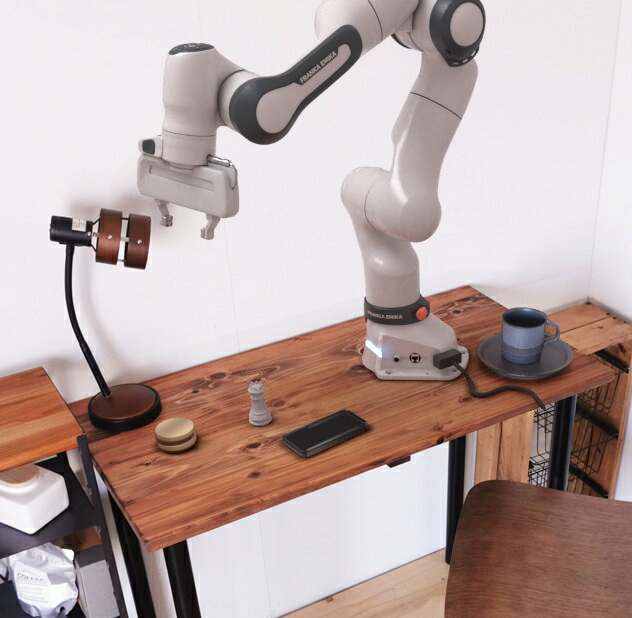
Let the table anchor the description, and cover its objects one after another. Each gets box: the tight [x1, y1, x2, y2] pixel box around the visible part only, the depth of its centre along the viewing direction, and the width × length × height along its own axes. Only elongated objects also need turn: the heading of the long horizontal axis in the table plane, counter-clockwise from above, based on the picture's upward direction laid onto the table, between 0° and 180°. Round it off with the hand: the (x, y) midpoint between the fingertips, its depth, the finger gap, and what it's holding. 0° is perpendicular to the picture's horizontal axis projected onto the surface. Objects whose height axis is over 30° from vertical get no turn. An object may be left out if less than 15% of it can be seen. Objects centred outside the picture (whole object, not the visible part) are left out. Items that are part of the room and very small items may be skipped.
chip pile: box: [154, 417, 197, 454], centre depth 168 cm, size 8×8×4 cm
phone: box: [282, 408, 369, 458], centre depth 168 cm, size 8×1×15 cm
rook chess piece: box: [247, 380, 273, 427], centre depth 172 cm, size 4×4×8 cm
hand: (186, 232), depth 157 cm, fingers open, 8 cm apart
